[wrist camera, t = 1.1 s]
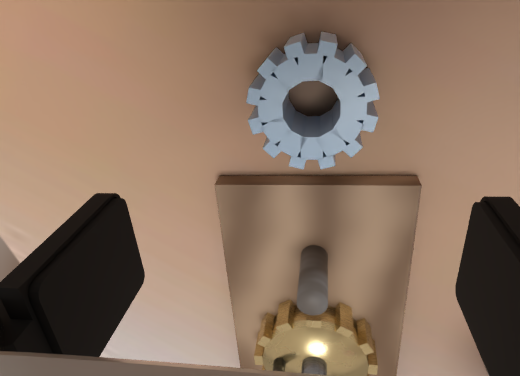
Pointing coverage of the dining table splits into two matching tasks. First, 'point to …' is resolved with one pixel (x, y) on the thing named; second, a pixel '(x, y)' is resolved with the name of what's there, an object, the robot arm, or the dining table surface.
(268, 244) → the gear board
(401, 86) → the dining table surface
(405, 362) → the dining table surface
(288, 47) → the blue gear
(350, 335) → the brass drive gear
